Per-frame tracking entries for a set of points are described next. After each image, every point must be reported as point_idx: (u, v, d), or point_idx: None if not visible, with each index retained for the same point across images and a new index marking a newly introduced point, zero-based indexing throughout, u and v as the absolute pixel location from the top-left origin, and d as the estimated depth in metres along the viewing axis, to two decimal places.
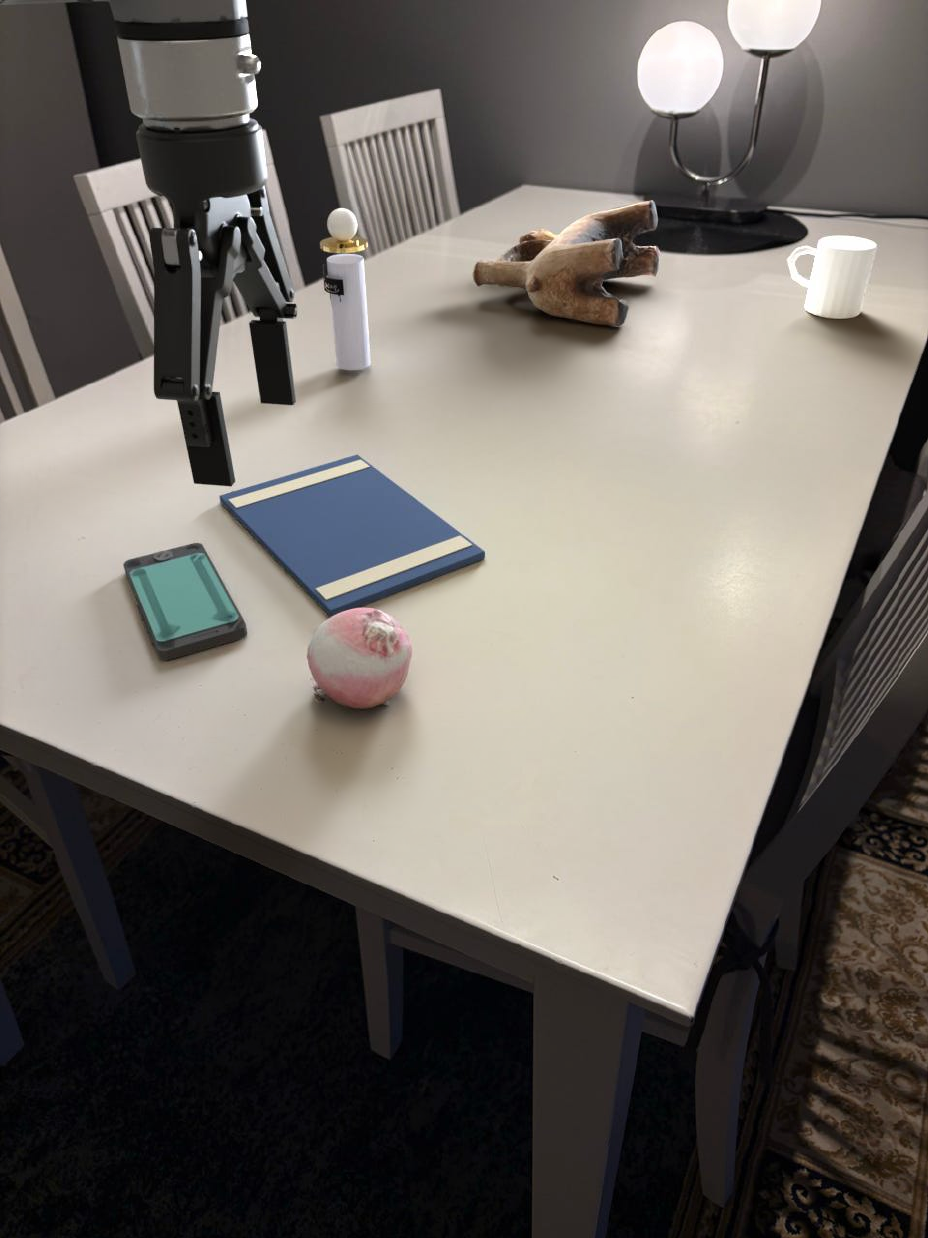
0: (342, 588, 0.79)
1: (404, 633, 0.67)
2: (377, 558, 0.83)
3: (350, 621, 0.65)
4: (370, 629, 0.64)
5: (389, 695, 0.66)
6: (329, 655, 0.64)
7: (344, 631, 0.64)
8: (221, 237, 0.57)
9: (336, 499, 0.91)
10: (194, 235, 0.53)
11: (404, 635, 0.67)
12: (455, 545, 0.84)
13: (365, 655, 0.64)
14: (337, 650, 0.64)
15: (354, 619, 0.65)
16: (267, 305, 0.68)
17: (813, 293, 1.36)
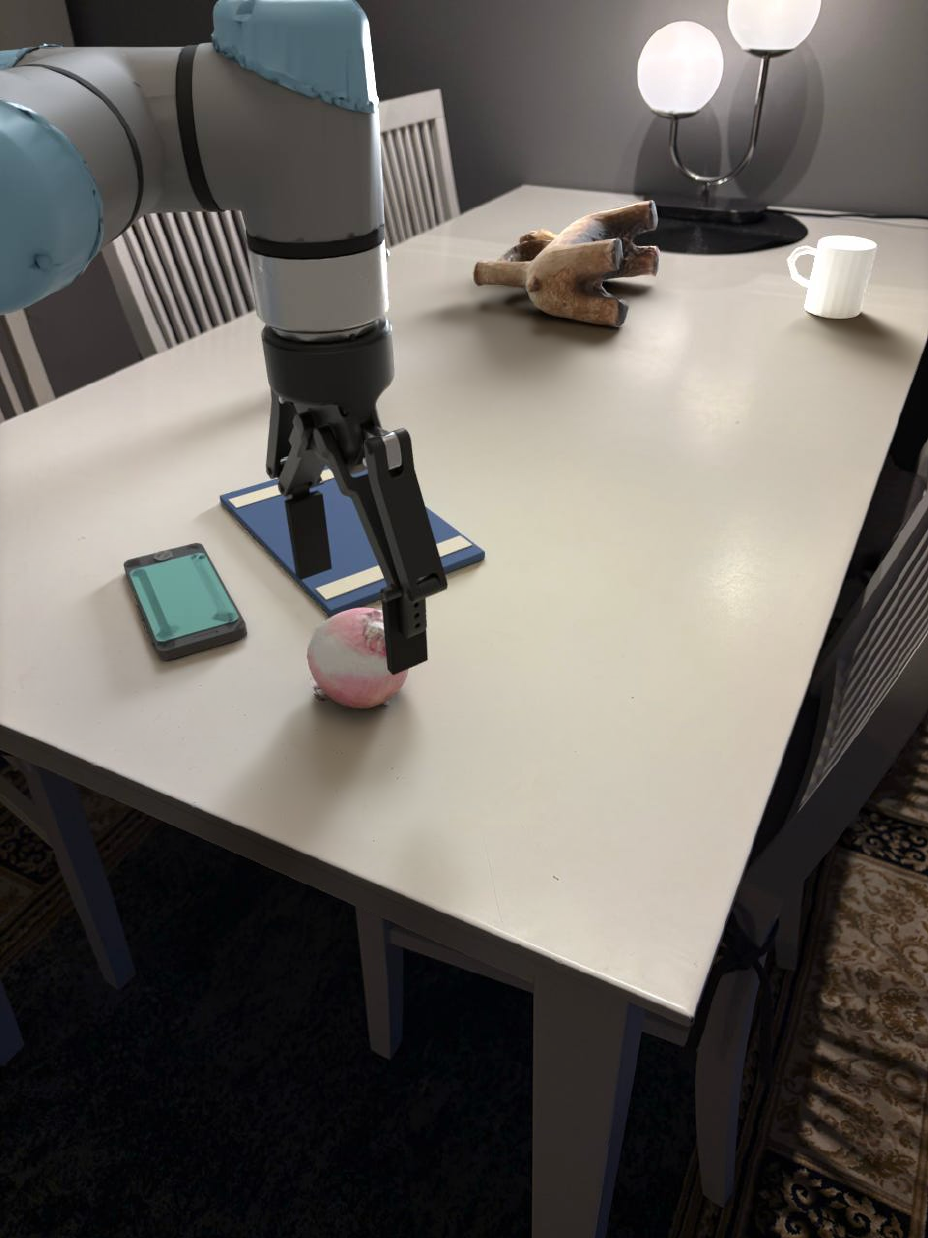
0: (342, 588, 0.79)
1: None
2: None
3: (350, 621, 0.65)
4: (370, 629, 0.64)
5: (389, 695, 0.66)
6: (329, 655, 0.64)
7: (344, 631, 0.64)
8: None
9: (336, 499, 0.91)
10: None
11: None
12: (455, 545, 0.84)
13: (365, 655, 0.64)
14: (337, 650, 0.64)
15: (354, 619, 0.65)
16: (309, 480, 0.65)
17: (813, 293, 1.36)
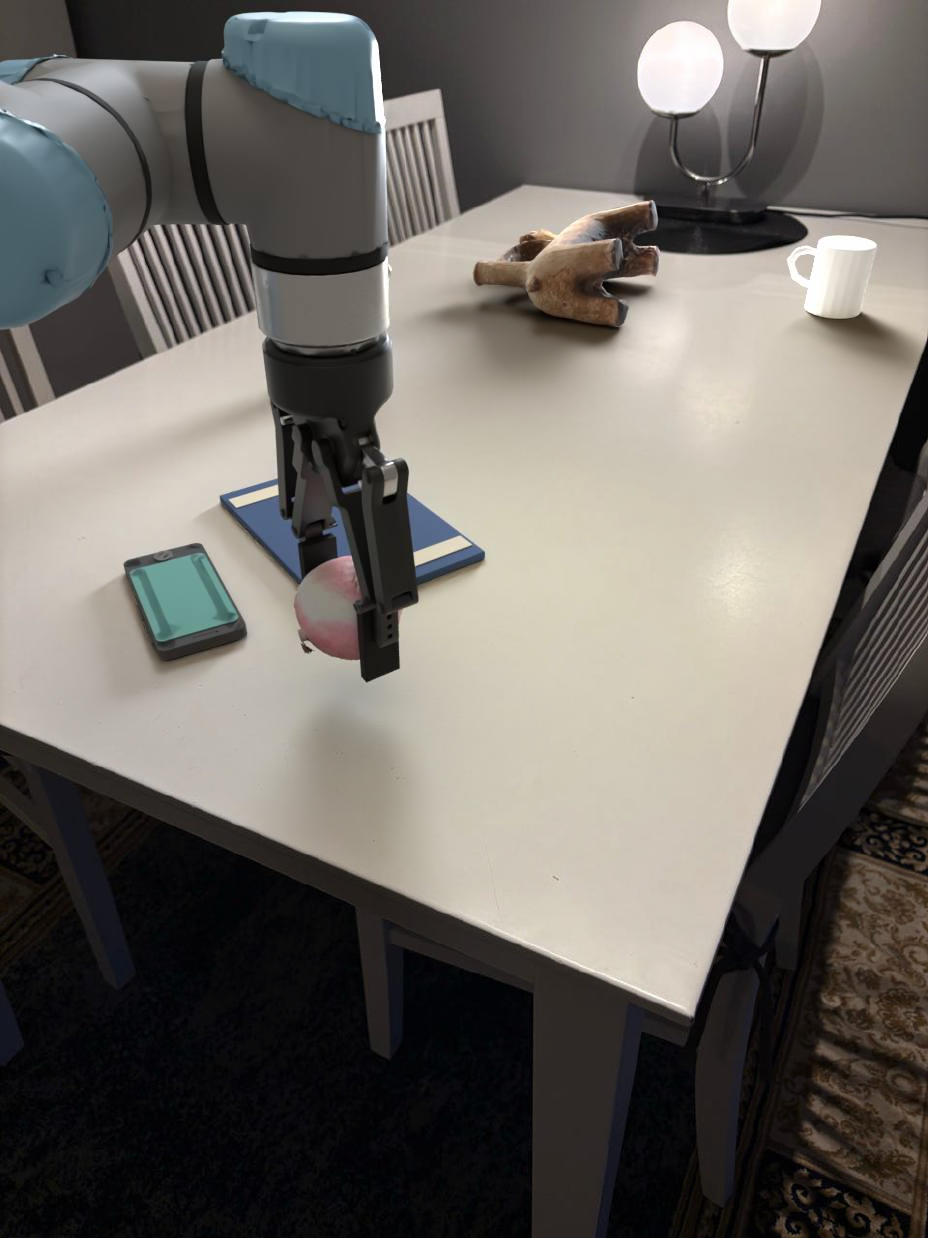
0: None
1: None
2: None
3: (339, 567, 0.62)
4: None
5: None
6: (317, 602, 0.61)
7: (333, 578, 0.62)
8: None
9: None
10: None
11: None
12: (455, 545, 0.84)
13: (354, 602, 0.61)
14: (326, 596, 0.61)
15: (344, 566, 0.62)
16: (321, 517, 0.64)
17: (813, 293, 1.36)
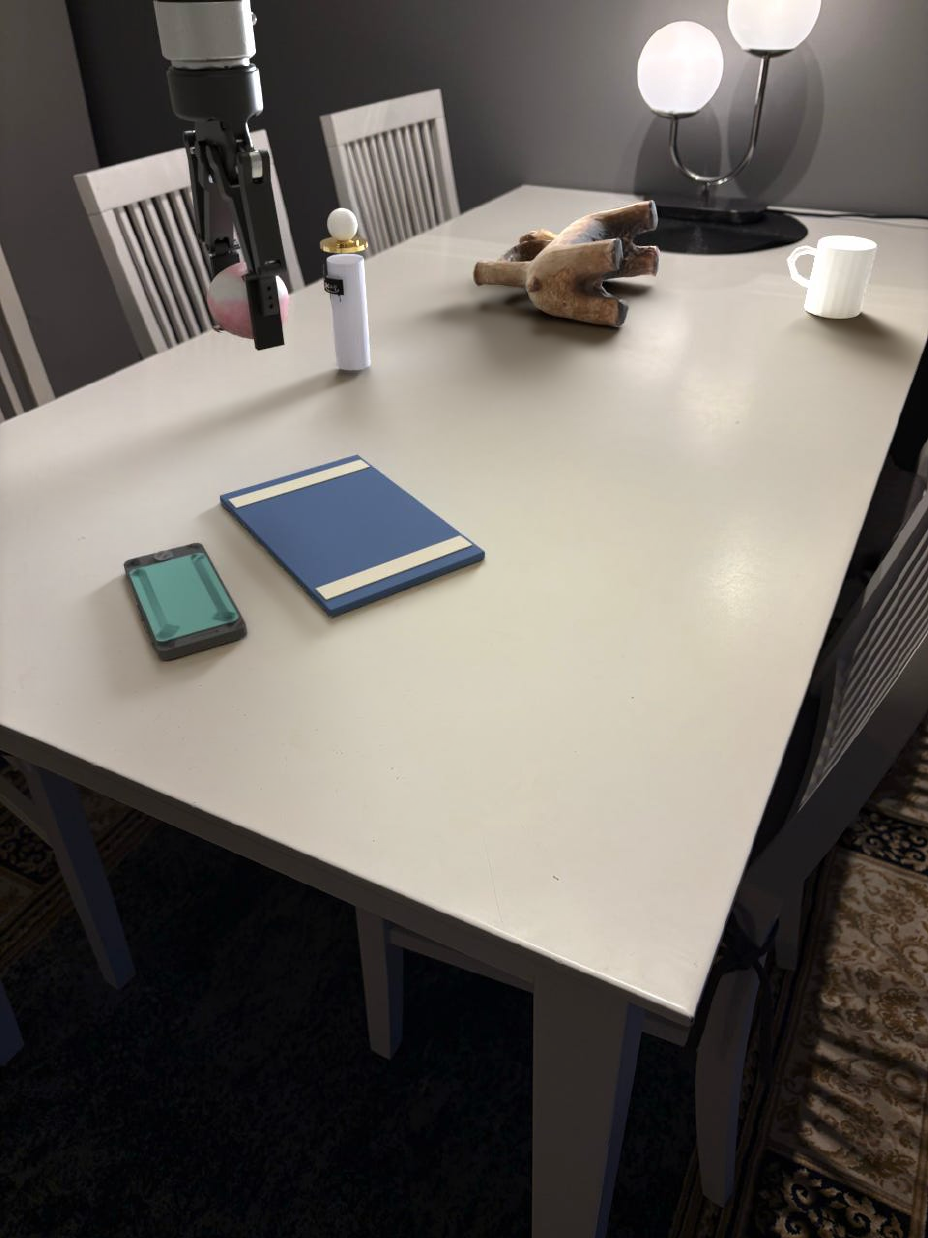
0: (342, 588, 0.79)
1: (281, 281, 0.87)
2: (377, 558, 0.83)
3: (238, 264, 0.85)
4: None
5: None
6: (220, 286, 0.84)
7: (232, 269, 0.84)
8: None
9: (336, 499, 0.91)
10: None
11: (281, 281, 0.87)
12: (455, 545, 0.84)
13: None
14: (226, 281, 0.84)
15: (241, 263, 0.85)
16: (225, 234, 0.87)
17: (813, 293, 1.36)
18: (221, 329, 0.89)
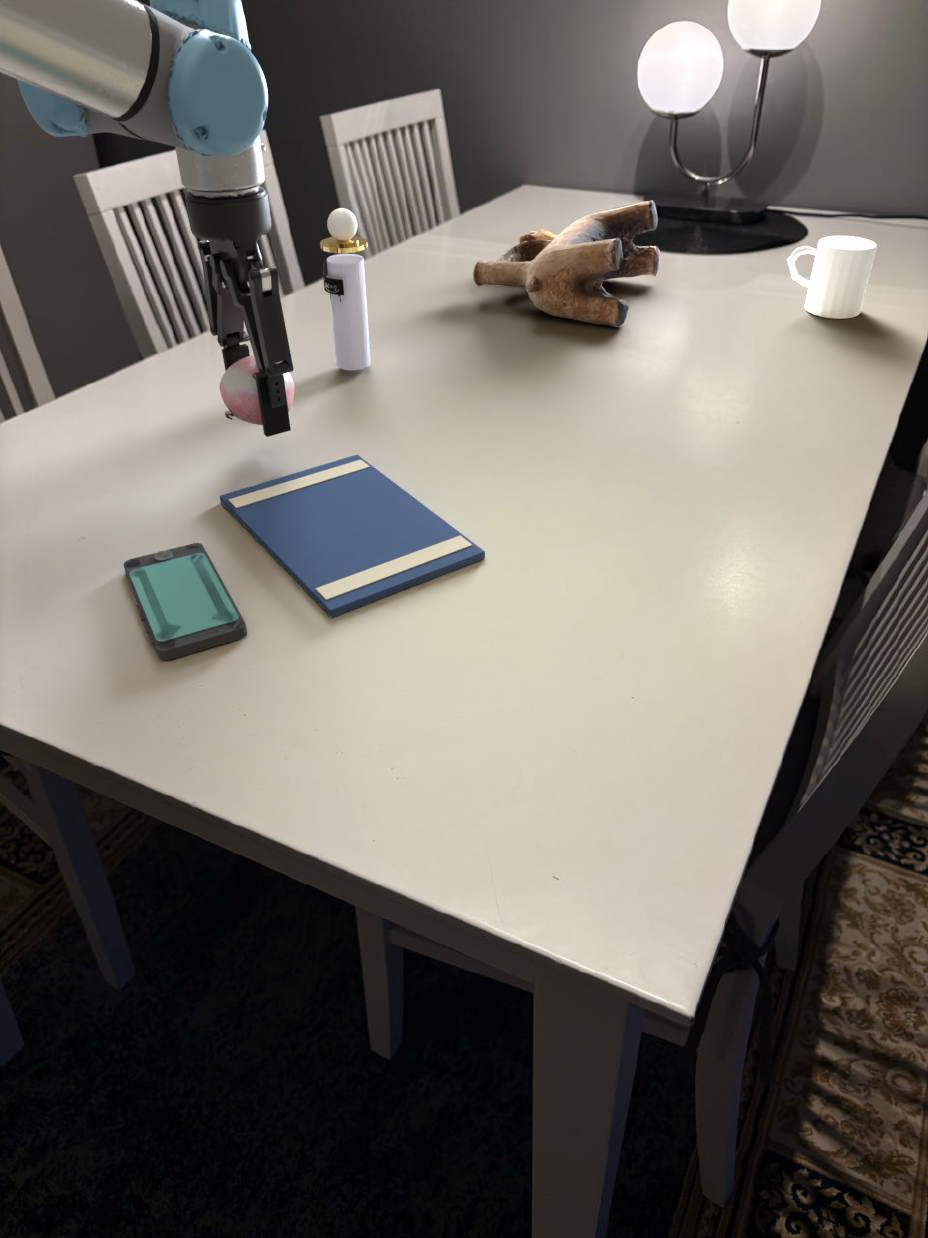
0: (342, 588, 0.79)
1: (288, 372, 0.95)
2: (377, 558, 0.83)
3: (248, 359, 0.94)
4: None
5: None
6: (232, 379, 0.93)
7: (243, 364, 0.93)
8: None
9: (336, 499, 0.91)
10: None
11: (287, 373, 0.95)
12: (455, 545, 0.84)
13: None
14: (238, 375, 0.92)
15: (251, 358, 0.94)
16: (236, 329, 0.95)
17: (813, 293, 1.36)
18: (232, 414, 0.97)
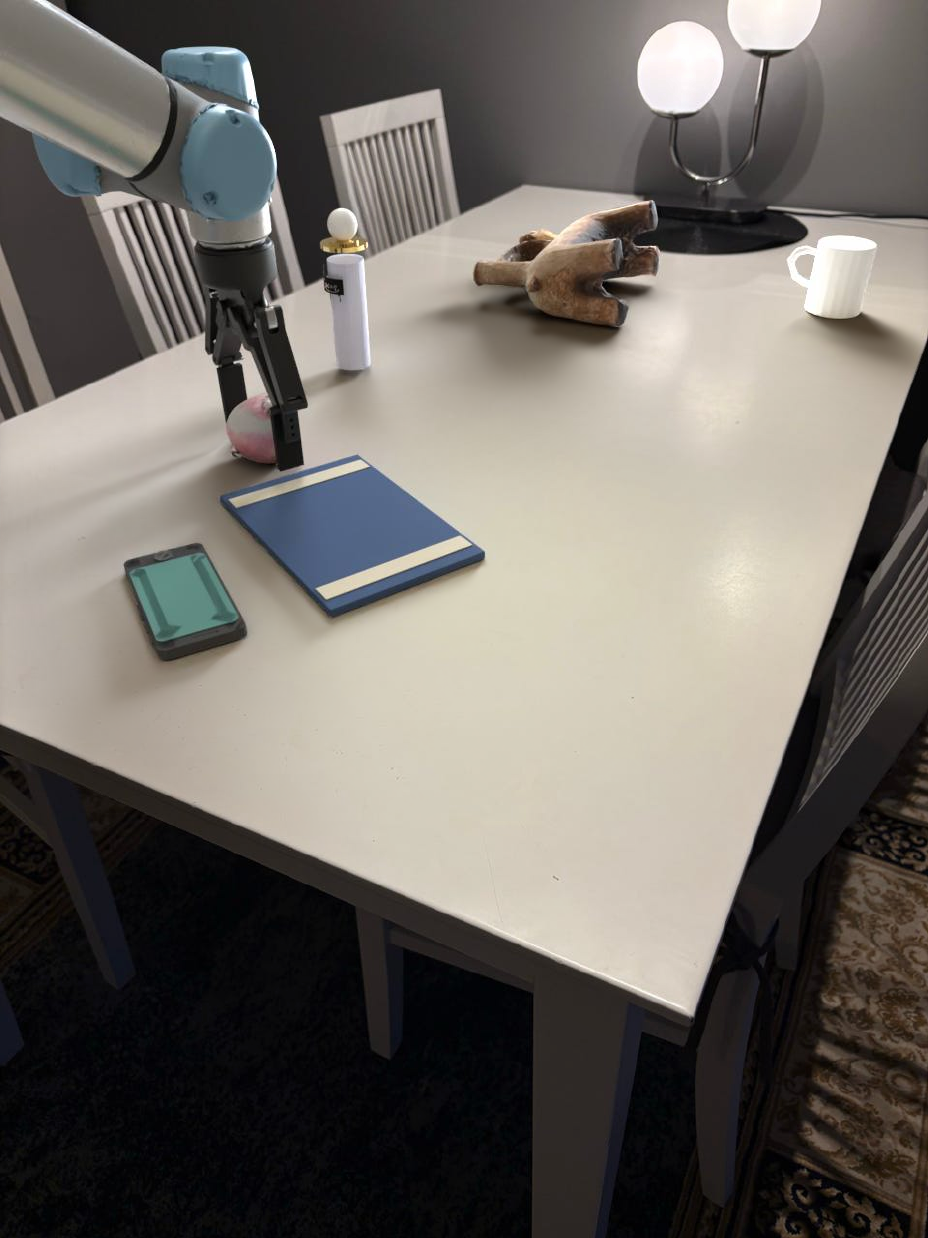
0: (342, 588, 0.79)
1: None
2: (377, 558, 0.83)
3: (254, 400, 0.96)
4: (267, 403, 0.95)
5: None
6: (238, 420, 0.95)
7: (249, 405, 0.96)
8: None
9: (336, 499, 0.91)
10: None
11: None
12: (455, 545, 0.84)
13: (262, 419, 0.95)
14: (244, 416, 0.95)
15: (257, 399, 0.96)
16: (232, 353, 0.99)
17: (813, 293, 1.36)
18: (238, 452, 1.00)
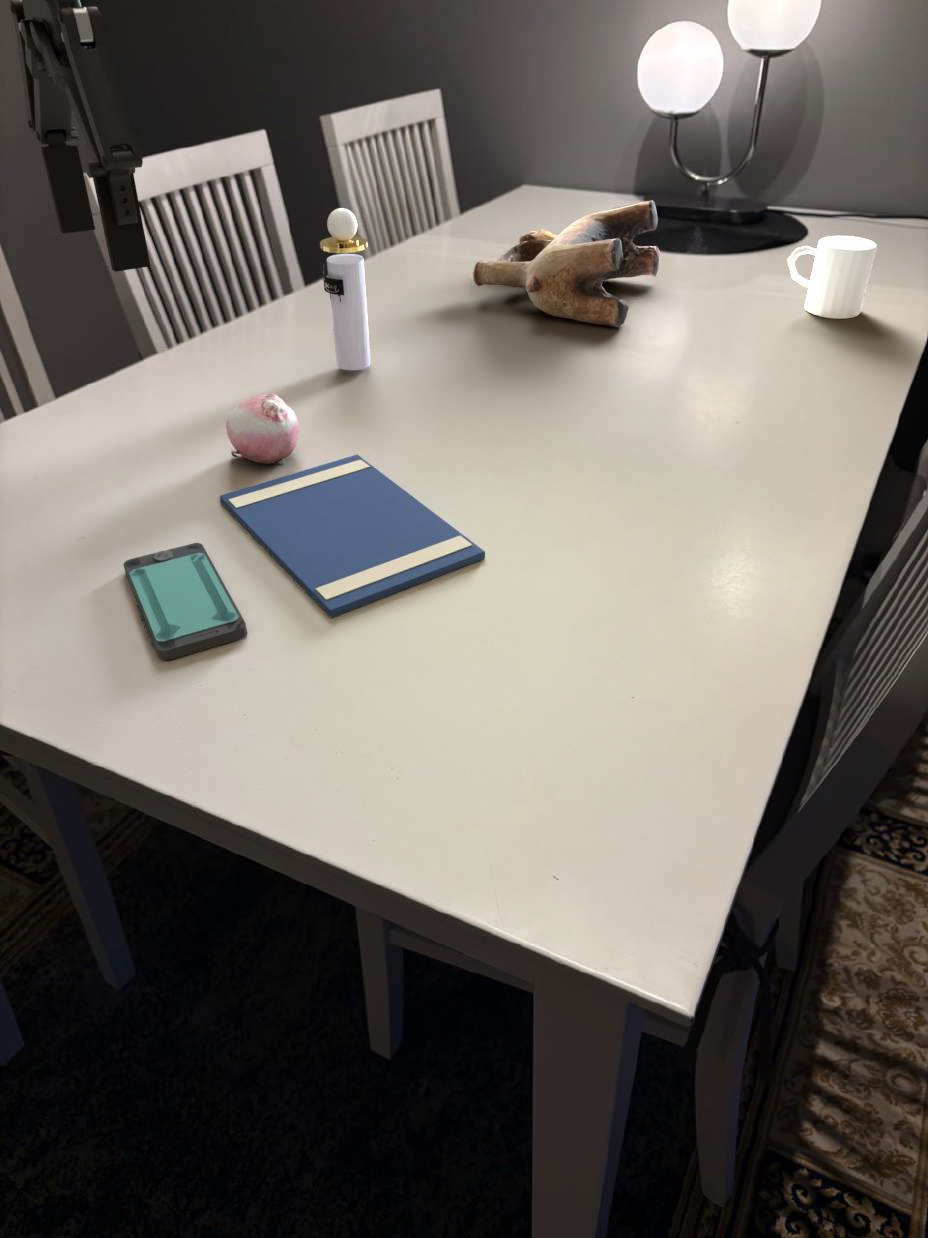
0: (342, 588, 0.79)
1: (292, 412, 0.98)
2: (377, 558, 0.83)
3: (254, 400, 0.96)
4: (267, 403, 0.95)
5: (282, 453, 0.98)
6: (238, 420, 0.95)
7: (249, 405, 0.96)
8: None
9: (336, 499, 0.91)
10: None
11: (292, 413, 0.98)
12: (455, 545, 0.84)
13: (262, 419, 0.95)
14: (244, 416, 0.95)
15: (257, 399, 0.96)
16: (61, 126, 0.73)
17: (813, 293, 1.36)
18: (238, 452, 1.00)
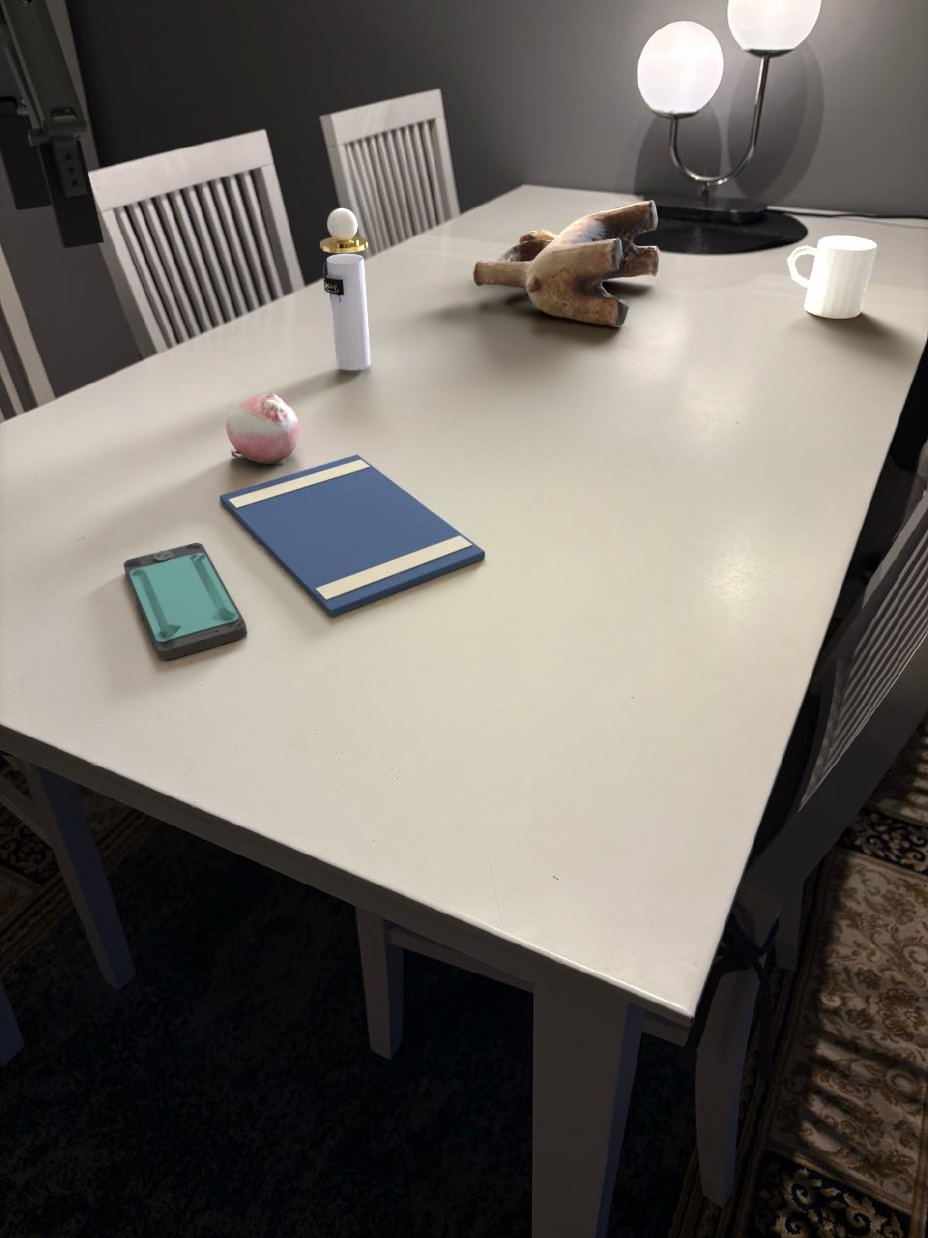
0: (342, 588, 0.79)
1: (292, 412, 0.98)
2: (377, 558, 0.83)
3: (254, 400, 0.96)
4: (267, 403, 0.95)
5: (282, 453, 0.98)
6: (238, 420, 0.95)
7: (249, 405, 0.96)
8: None
9: (336, 499, 0.91)
10: None
11: (292, 412, 0.98)
12: (455, 545, 0.84)
13: (262, 419, 0.95)
14: (244, 416, 0.95)
15: (257, 399, 0.96)
16: (10, 93, 0.68)
17: (813, 293, 1.36)
18: (238, 452, 1.00)
